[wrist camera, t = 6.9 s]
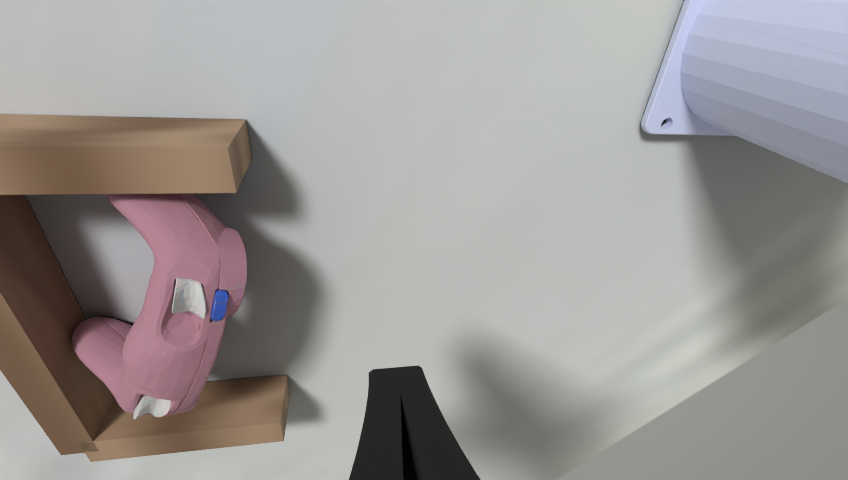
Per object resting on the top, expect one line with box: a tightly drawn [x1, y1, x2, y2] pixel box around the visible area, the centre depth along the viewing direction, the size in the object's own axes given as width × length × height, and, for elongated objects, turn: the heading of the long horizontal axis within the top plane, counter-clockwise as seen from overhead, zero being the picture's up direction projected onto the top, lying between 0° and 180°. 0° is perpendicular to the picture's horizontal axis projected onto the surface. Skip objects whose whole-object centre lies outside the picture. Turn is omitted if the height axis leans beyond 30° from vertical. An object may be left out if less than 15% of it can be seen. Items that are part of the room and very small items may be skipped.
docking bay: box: [0, 114, 290, 462], centre depth 18 cm, size 10×16×3 cm, turn 176°
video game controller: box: [72, 193, 247, 419], centre depth 17 cm, size 10×5×7 cm, turn 151°
